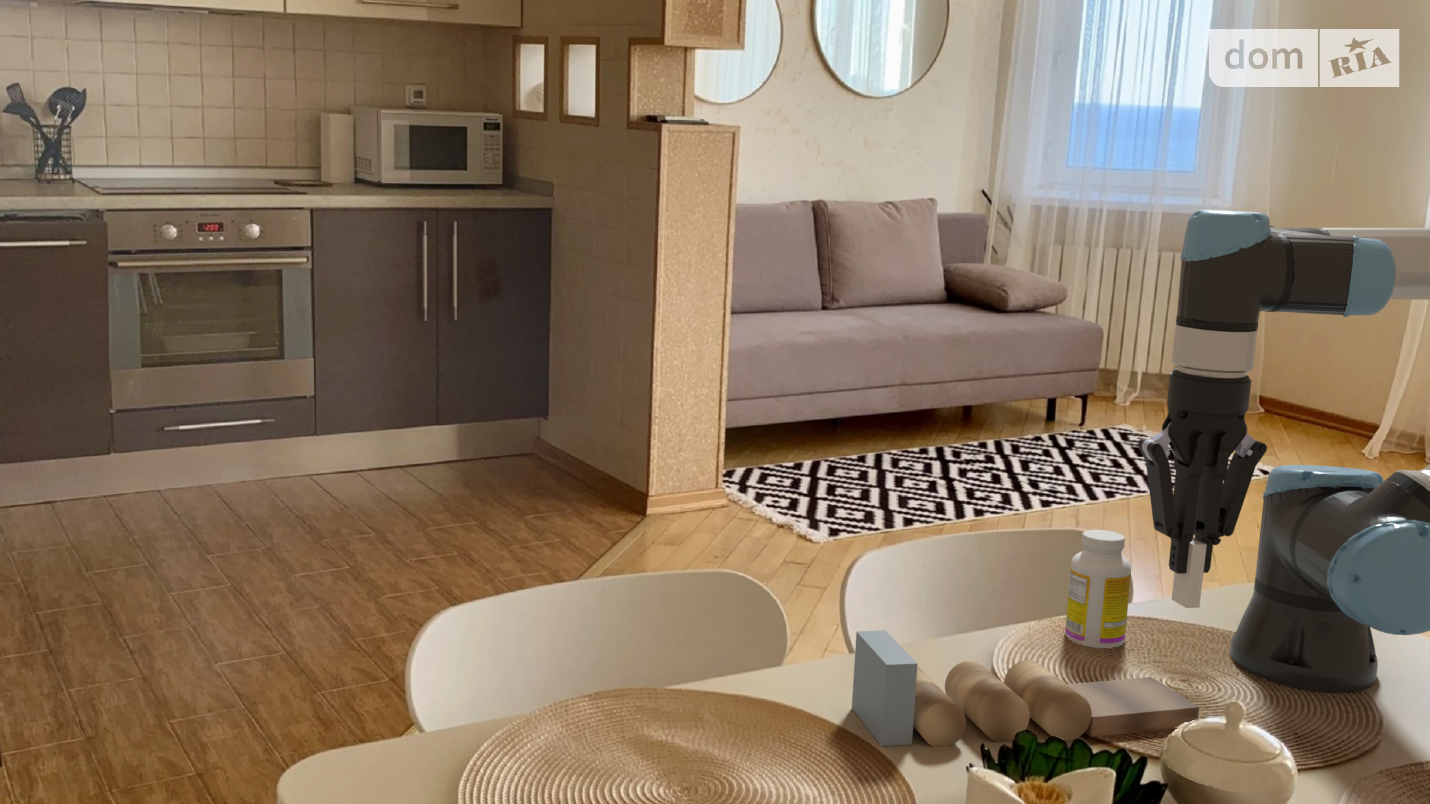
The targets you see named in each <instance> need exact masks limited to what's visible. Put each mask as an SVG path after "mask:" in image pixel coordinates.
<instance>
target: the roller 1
mask: <svg viewBox="0 0 1430 804" xmlns="http://www.w3.org/2000/svg"><path fill="white" fill-rule="evenodd" d="M966 728H967V718H966V715H965V714H964V713H963V711H962V710H961V709H960V708H959V707H958V706H957V705H956V704H955V703H954V702H953V701H952V700H951V699H950V698H949V697H948V696H947V694H946V692H945V691H944V690H943V689H942V688H940V687H939V685H937V683H936V682H934V681H933V679H931V677H930V676H929V675H928V674H927V673H926V672H924V671H923V669H922V668H920V667H919V666H917V679H916V693H915V707H914V721H913V729H915V730H916V732H917V733H918V734H919V735H920V736H921V737H922V738H923V739H924V740H925V741H926V743H927V744H928V745H930V746H932V747H934V748H939V747H941V748H942V747H951V746H954V745H955V744H957V743H958V742H959V740H960V739H962V737H963V736H964V733H965V732H966Z"/></svg>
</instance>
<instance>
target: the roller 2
mask: <svg viewBox="0 0 1430 804" xmlns="http://www.w3.org/2000/svg"><path fill="white" fill-rule="evenodd" d="M944 692H945V694H946V695H947V696H948V697H949V698H950V699H951V700H952V701H953V702H954V703H955V704H956V705H957V706H958V707H959V708H960V709H961V710H962V711H963V713H964V715H965V717H967V718H968V719H969V720H970V721H971V722H972V723H973V724H975V726H976V727H978V728H979V729H980V730H981V731H982V732H983V733H984V734H985V735H986V736H987V738H988V739H990V740H992V741H994V742H995V743H1005V742H1013V741H1014V740H1013V738H1014V736H1015V733H1017V732H1018V731H1020V730H1025V731H1026V729H1027V728H1028V726H1029V723H1030V719H1031V718H1030V712H1029V708H1028V706H1027V704H1026V702H1025V701H1024V700H1023V699H1022V698H1020V697H1019V696H1018V695H1017V694H1016V693H1014V692H1013V691H1012V690H1011V689H1010V688H1009V687H1007V686H1006V685H1005V684H1004V681H1002V680H1000V679H999V678H998V677H997V676H996V675H995V674H994V673H992V671H990V670H989V669H987V667H985V666H984V665H983V664H982V663H980V662H978V661H975V660H964V661H961V662H959V663H957V664H956V665H954V666H953V667H952V668H951V669H950V670H949V672H948V674H947V676H946V678H945V682H944ZM1012 740H1013V741H1012Z"/></svg>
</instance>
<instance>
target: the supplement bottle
mask: <svg viewBox="0 0 1430 804" xmlns="http://www.w3.org/2000/svg"><path fill="white" fill-rule="evenodd" d="M1081 535H1082V536H1081V544H1082V545H1081V546H1082V550H1081V551H1080V552H1077V553H1076V554H1075V555H1074V556H1073V557H1072V559H1071V561H1070V571H1069V583H1068V593H1067V595H1068V596H1067V606H1066V618H1065V619H1066V620H1065V629H1064V630H1065V634H1064V635H1065V636H1066V638H1067V637H1068V638H1069V639H1068V638H1067V639H1068V640H1070V641H1071V642H1074V643H1075V644H1078V645H1080V644H1081V646H1084V647H1088V648H1093V647H1094V649H1103V648H1108V649H1113V648H1112V647H1116V648H1119V647H1121V646H1122V645H1121V644H1123V643H1124V644H1125V642H1126V631H1127V621H1128V610H1129V608H1128V607H1129V597H1130V587H1131V575H1132V574H1131V573H1132V566H1131V563H1130V562H1129V560H1128V559H1127V558H1126V557H1125V556H1123V554H1122V551H1124V548H1125V542H1126V540H1125V539H1126V538H1125V536H1124V535H1122V534H1121V533H1119V532H1116V531H1111V530H1105V529H1088V530H1085V531H1083V532H1082V534H1081ZM1124 644H1123V645H1124ZM1120 645H1121V646H1120ZM1118 646H1119V647H1118ZM1110 647H1111V648H1110Z"/></svg>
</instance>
